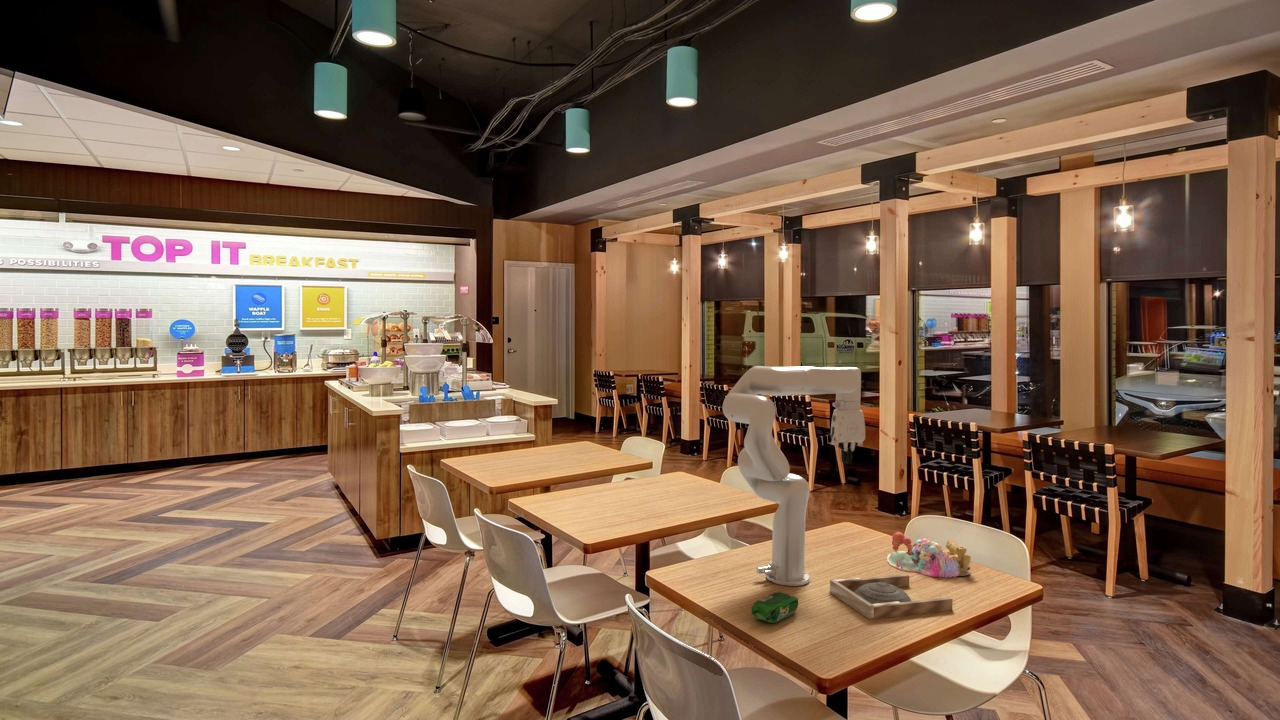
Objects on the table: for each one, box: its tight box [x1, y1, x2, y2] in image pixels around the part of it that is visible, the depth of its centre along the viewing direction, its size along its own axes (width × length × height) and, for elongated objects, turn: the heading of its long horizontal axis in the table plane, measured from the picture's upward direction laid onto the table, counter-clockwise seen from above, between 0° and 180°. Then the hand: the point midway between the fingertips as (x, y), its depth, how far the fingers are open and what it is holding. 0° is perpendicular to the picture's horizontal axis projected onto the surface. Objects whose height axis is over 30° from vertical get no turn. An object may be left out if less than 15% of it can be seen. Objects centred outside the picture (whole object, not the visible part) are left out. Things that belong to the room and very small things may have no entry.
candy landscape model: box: [886, 531, 972, 579], centre depth 222 cm, size 25×24×9 cm
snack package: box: [750, 591, 799, 624], centre depth 180 cm, size 7×16×5 cm, turn 136°
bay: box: [829, 573, 954, 620], centre depth 192 cm, size 25×19×4 cm
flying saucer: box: [853, 582, 912, 604], centre depth 191 cm, size 15×15×6 cm
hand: (846, 462), depth 223 cm, fingers closed
